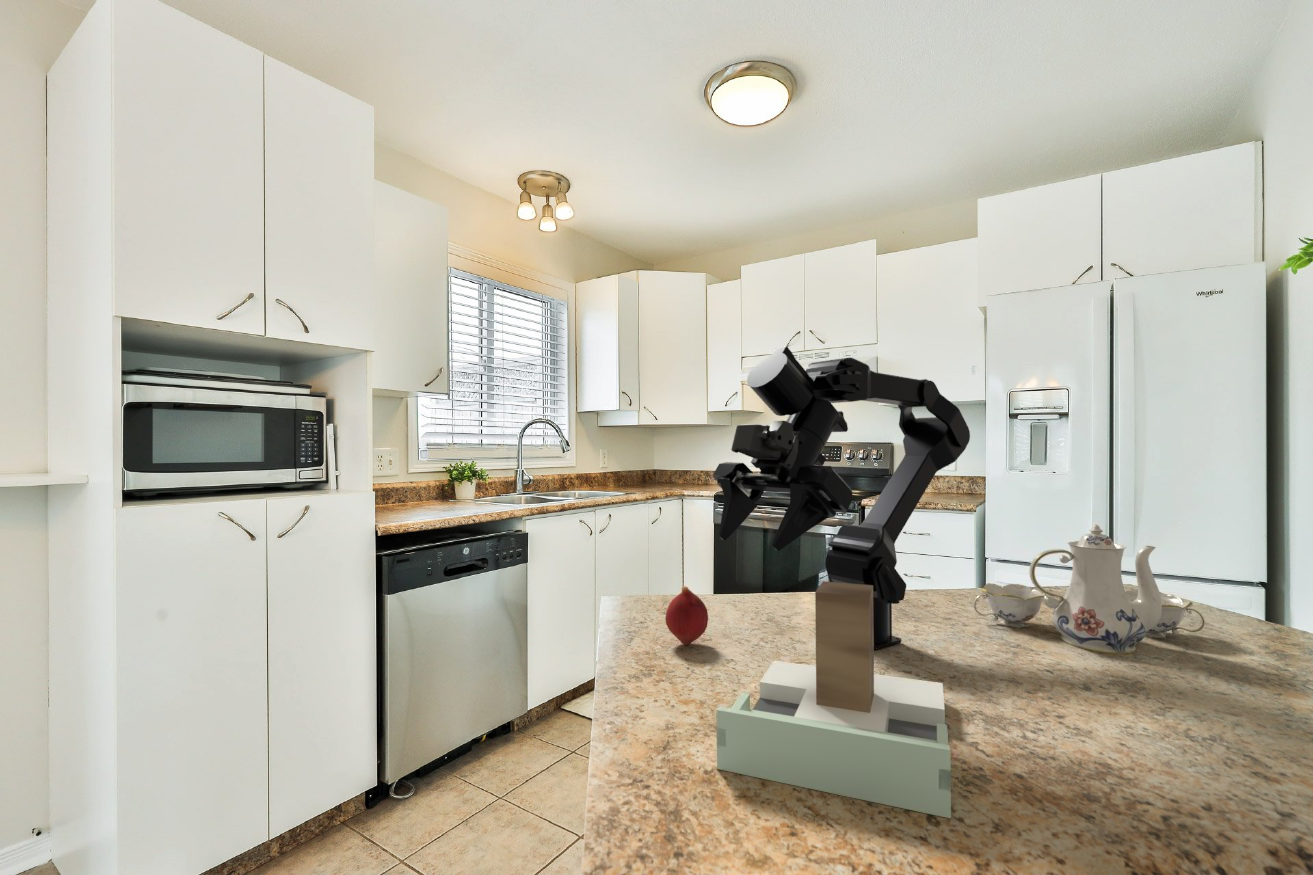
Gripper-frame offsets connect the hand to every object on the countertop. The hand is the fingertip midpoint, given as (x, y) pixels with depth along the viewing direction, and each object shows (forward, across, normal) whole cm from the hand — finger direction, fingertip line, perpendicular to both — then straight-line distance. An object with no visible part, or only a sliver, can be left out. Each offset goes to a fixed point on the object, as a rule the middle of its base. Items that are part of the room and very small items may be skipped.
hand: (747, 543), depth 73 cm
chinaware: (-18, +17, +49) cm, 54 cm away
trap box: (+14, +16, +7) cm, 23 cm away
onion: (+12, -13, +11) cm, 21 cm away
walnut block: (+11, +14, +9) cm, 20 cm away
